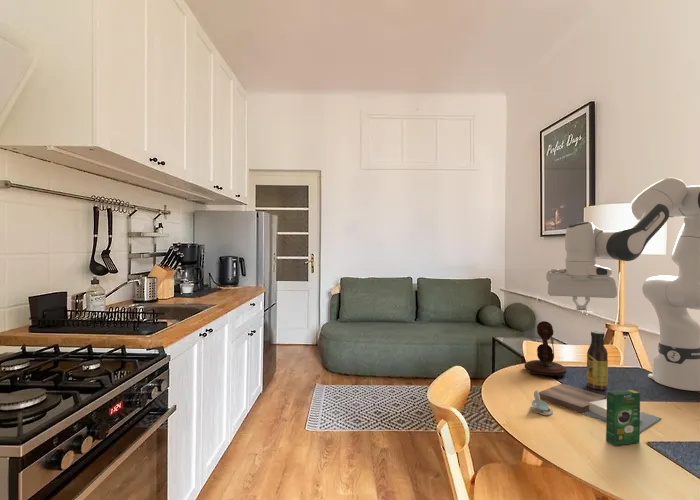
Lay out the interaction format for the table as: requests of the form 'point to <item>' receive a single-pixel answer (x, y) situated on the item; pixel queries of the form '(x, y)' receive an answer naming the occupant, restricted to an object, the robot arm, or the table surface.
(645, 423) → the mat
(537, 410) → the pacifier
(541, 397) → the board
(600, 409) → the tile
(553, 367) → the stacked ball statuette
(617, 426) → the coffee box
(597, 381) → the sauce bottle
